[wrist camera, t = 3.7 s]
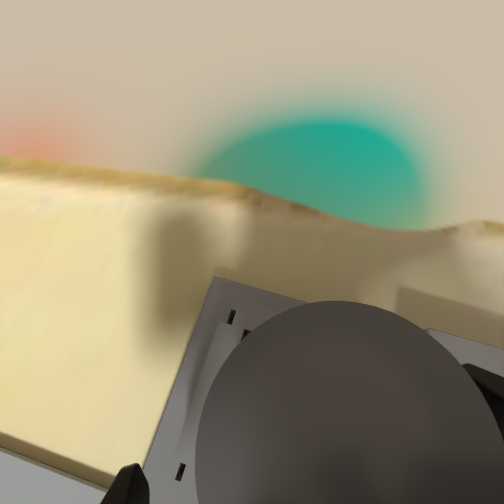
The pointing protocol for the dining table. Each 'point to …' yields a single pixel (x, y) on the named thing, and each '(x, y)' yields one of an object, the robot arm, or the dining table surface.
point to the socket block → (209, 363)
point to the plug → (346, 416)
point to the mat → (42, 483)
